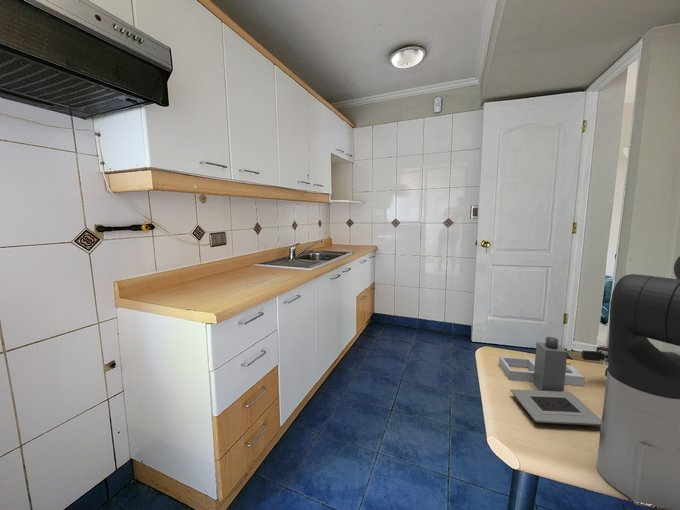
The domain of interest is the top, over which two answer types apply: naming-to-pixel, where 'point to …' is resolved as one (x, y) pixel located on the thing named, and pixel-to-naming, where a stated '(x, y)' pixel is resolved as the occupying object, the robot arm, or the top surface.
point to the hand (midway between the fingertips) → (593, 363)
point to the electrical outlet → (556, 407)
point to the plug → (550, 366)
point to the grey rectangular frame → (570, 375)
